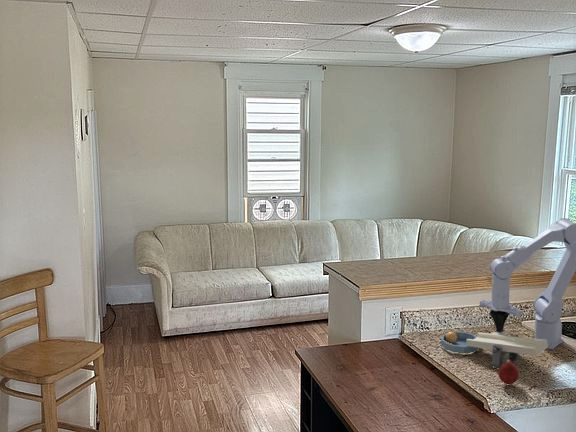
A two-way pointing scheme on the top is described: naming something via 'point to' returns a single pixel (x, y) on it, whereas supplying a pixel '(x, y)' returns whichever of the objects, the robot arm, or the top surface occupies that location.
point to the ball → (451, 337)
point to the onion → (508, 373)
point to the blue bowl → (459, 343)
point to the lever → (508, 343)
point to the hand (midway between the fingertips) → (499, 330)
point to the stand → (502, 360)
